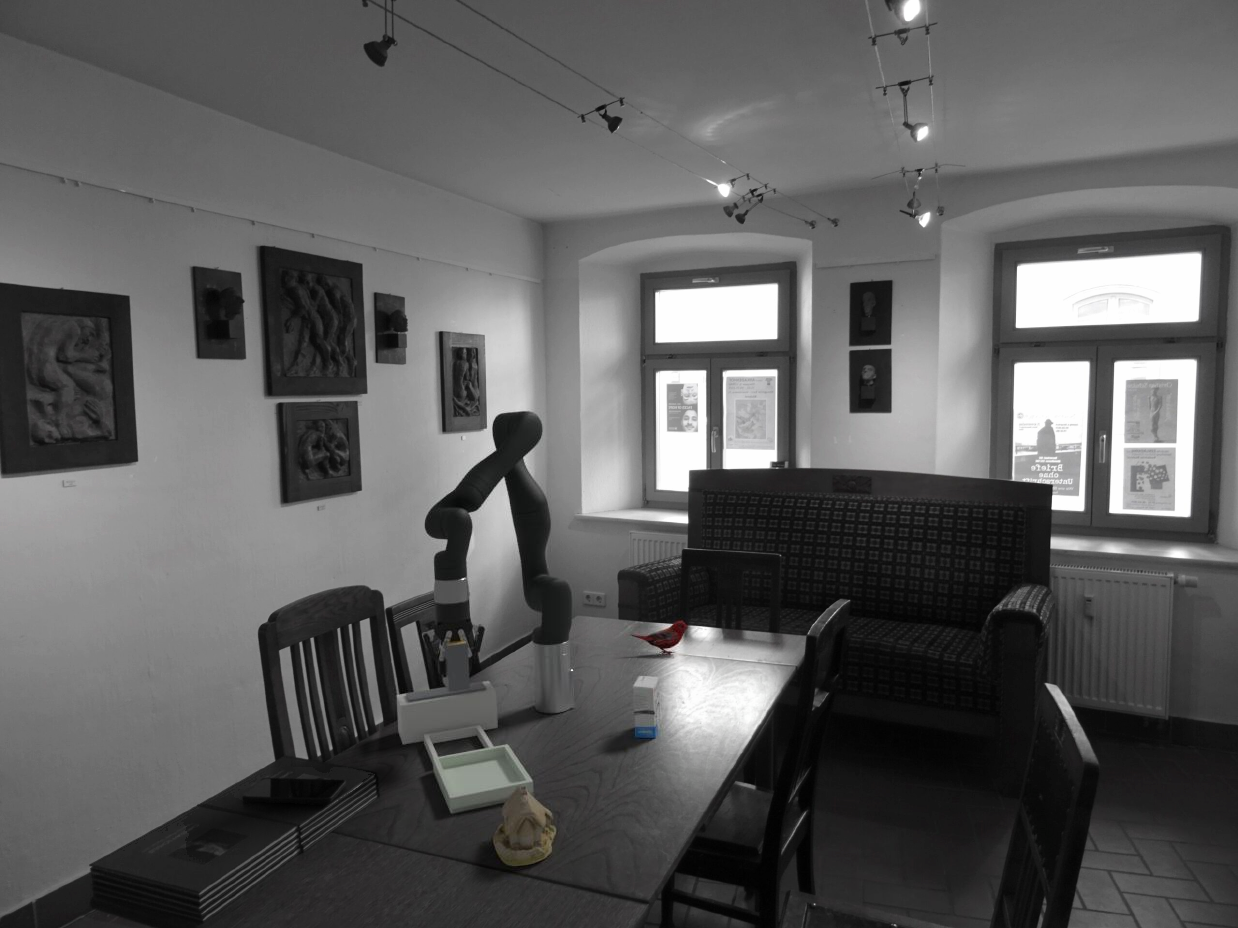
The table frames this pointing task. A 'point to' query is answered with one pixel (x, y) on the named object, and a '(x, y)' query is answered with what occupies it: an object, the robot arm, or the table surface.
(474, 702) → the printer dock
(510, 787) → the tray
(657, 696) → the ink box
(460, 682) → the block
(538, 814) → the ceramic model
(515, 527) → the robot arm
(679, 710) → the table surface
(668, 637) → the decorative bird figurine
